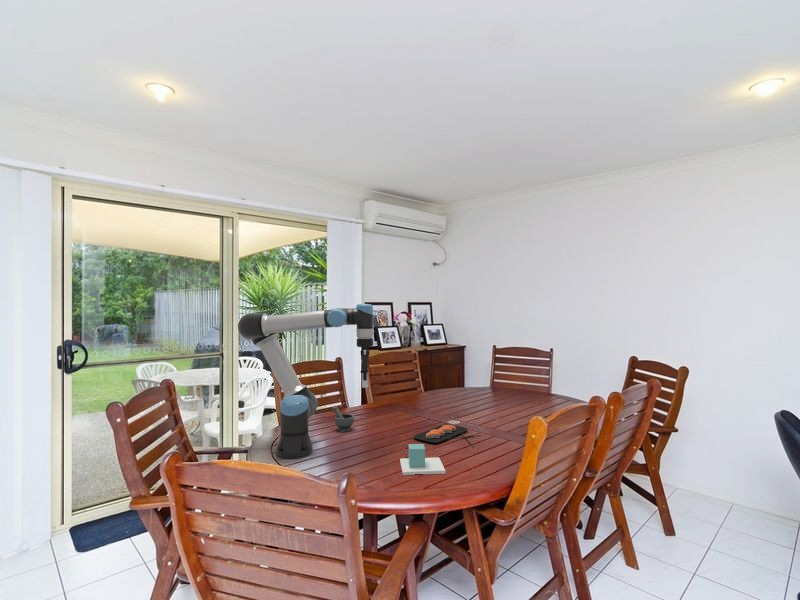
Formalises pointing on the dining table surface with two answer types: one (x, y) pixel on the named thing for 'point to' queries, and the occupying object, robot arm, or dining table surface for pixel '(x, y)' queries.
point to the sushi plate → (442, 433)
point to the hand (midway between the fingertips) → (364, 384)
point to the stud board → (430, 467)
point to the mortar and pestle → (343, 420)
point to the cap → (416, 455)
